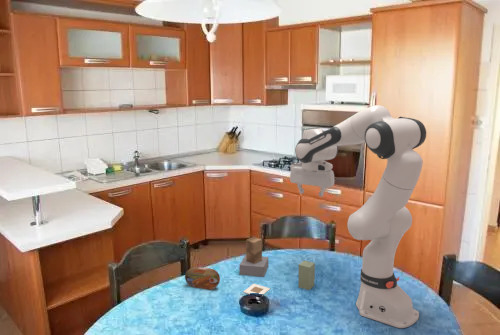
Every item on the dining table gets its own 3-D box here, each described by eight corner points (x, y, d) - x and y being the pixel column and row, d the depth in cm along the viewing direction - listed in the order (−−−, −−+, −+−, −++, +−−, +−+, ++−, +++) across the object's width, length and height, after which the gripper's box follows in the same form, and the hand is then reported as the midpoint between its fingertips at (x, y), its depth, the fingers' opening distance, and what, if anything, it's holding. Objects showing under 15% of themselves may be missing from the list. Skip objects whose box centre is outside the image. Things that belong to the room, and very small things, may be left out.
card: (270, 289, 172) (270, 288, 172) (260, 297, 165) (260, 296, 165) (253, 284, 176) (253, 283, 176) (243, 292, 170) (243, 291, 169)
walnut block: (262, 260, 189) (261, 239, 187) (254, 263, 185) (254, 242, 183) (253, 257, 192) (253, 236, 190) (246, 260, 188) (246, 239, 186)
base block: (268, 266, 193) (268, 256, 192) (263, 277, 183) (263, 267, 182) (245, 265, 196) (245, 255, 195) (239, 275, 185) (239, 264, 184)
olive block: (314, 285, 175) (314, 263, 173) (309, 290, 171) (309, 267, 169) (303, 282, 177) (303, 260, 175) (298, 287, 173) (298, 264, 171)
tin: (185, 286, 175) (184, 267, 174) (188, 283, 178) (187, 264, 177) (218, 291, 171) (217, 272, 169) (221, 287, 174) (220, 268, 172)
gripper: (287, 163, 186) (287, 193, 189) (330, 167, 176) (329, 199, 178) (293, 161, 192) (293, 190, 194) (336, 165, 181) (335, 196, 184)
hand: (311, 194), depth 186 cm, fingers open, 8 cm apart
